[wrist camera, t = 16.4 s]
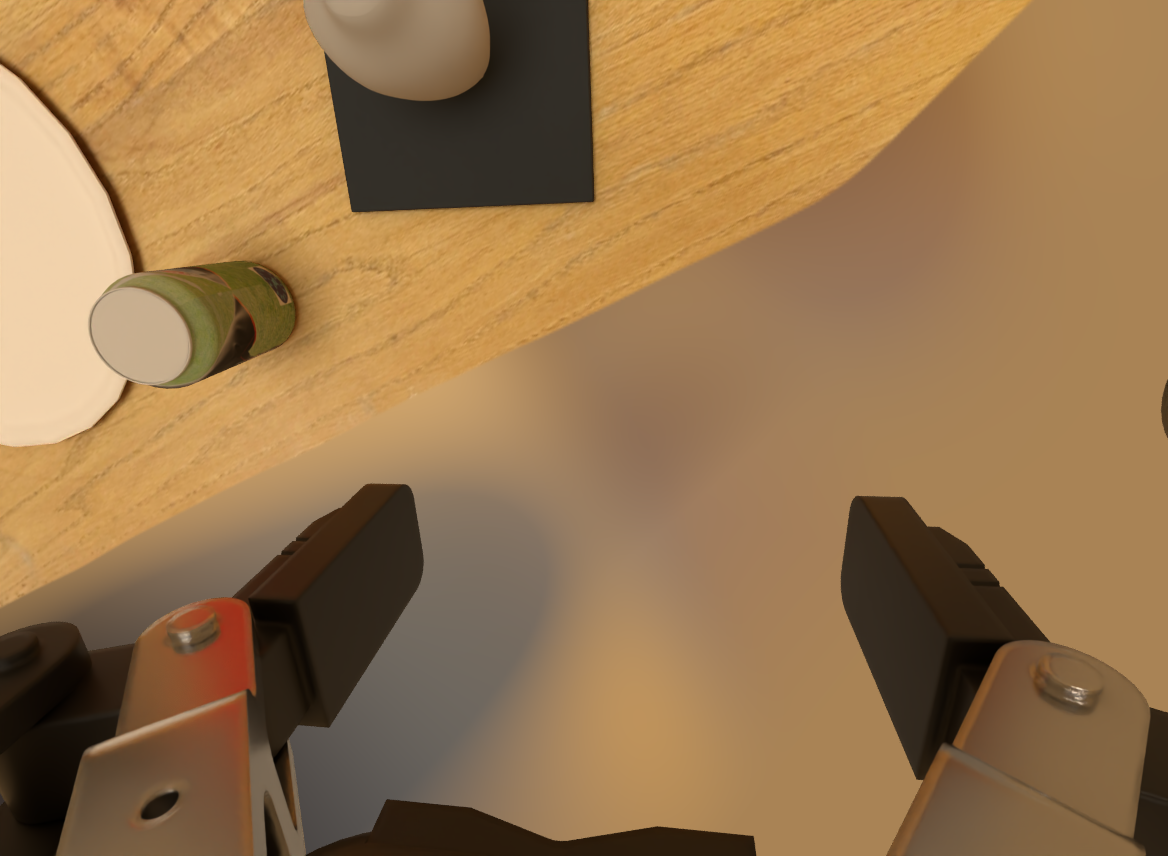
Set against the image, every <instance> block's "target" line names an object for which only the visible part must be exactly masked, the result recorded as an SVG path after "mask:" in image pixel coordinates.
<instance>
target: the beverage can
mask: <svg viewBox="0 0 1168 856" xmlns="http://www.w3.org/2000/svg"><path fill="white" fill-rule="evenodd" d="M294 323H295V307H294V302H293V299H292V296H291V294H290V292H289V290H288V289H287V287H286V286H285V284H284V283H283V282H282V280H281V279H280V278H279V277H278V276H276V275H275V274H274V273H273V272H271V271H270V270H269V269H267V268H265V267H263V266H261V265H259V264H255V263H252V262H246V261H233V262H224V263H216V264H208V265H199V266H191V267H182V268H174V269H165V270H157V271H149V272H140V273H135V274H130V275H127V276H125V277H122V278H120V279H118V280H116V281H115V282H114V283H112V284H111V285H110V286H109V287H108V288H107V289H106V290H105V291H104V292H103V294H102V295H101V296H100V297H99V298H98V299H97V301H96V302H95V303H94V305H93V306H92V308H91V310H90V314H89V317H88V332H89V337H90V340H91V343H92V345H93V348H94V350H95V352H96V353H97V355H98V356H99V358H100V359H101V360H102V361H103V362H104V363H105V365H106V366H107V367H109V368H110V369H111V370H112V371H113V372H115V373H116V374H118V375H119V376H121V377H122V378H125V379H127V380H129V381H131V382H135V383H138V384H144V385H150V386H153V387H158V388H166V389H169V388H181V387H186V386H189V385H192V384H194V383H196V382H199V381H201V380H203V379H206V378H208V377H210V376H213V375H215V374H217V373H220V372H222V371H224V370H227V369H229V368H231V367H234V366H236V365H238V364H241V363H243V362H245V361H247V360H250V359H252V358H254V357H257V356H259V355H261V354H264V353H266V352H268V351H271V350H273V349H275V348H277V347H279V346H280V345H282V344H283V343H284V342H285V341H286V340H287V339H288V337H289V336H290V334H291V332H292V330H293V327H294Z"/></svg>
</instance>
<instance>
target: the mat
mask: <svg viewBox="0 0 1168 856" xmlns="http://www.w3.org/2000/svg"><path fill="white" fill-rule="evenodd" d="M483 3H484V6H485V10H486V14H487V19H488V24H489V31H490V58H489V63H488V67H487V69H486V72H485V73H484V76H483V78H481V79H480V80H479V82H477V83H476V84H475V85H474V86H473V87H471V88H470V89H468V90H467V91H465V92H463V93H461V94H459V95H457V96H454V97H451V98H447V99H442V100H434V101H416V100H408V99H401V98H396V97H391V96H387V95H383V94H380V93H377V92H375V91H372V90H370V89H368V88H366V87H364V86H363V85H361V84H359V83H358V82H356V81H355V80H354V79H352V78H351V77H349V76H348V75H347V74H346V73H345V72H343V71H342V70H341V69H340V68H339V67H338V66H337V65H336V64H335V63H334V62H333V61H332V60H331V59H330V57H329V56H328V55H327V54H326V53H325V51H324V53H325V59H326V65H327V70H328V76H329V82H330V88H331V94H332V100H333V105H334V111H335V117H336V123H337V129H338V134H339V140H340V146H341V152H342V158H343V163H344V169H345V175H346V181H347V187H348V192H349V198H350V204H351V210H352V212H369V211H392V210H415V209H438V208H461V207H484V206H507V205H530V204H554V203H577V202H593V201H594V173H593V142H592V112H591V81H590V51H589V21H588V0H483Z"/></svg>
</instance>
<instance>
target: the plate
mask: <svg viewBox="0 0 1168 856" xmlns="http://www.w3.org/2000/svg"><path fill="white" fill-rule="evenodd" d="M130 274H135V273H134V266H133V260H132V254H131V252H130V249H129V247H128V244H127V241H126V239H125V236H124V234H123V231H122V228H121V226H120V223H119V221H118V218H117V216H116V213H115V210H114V208H113V205H112V203H111V200H110V197H109V195H108V193H107V191H106V190H105V188H104V186H103V185H102V183H101V182H100V180H99V178H98V177H97V175H96V174H95V172H94V170H93V169H92V167H91V165H90V164H89V162H88V161H87V159H86V157H85V156H84V154H83V153H82V151H81V149H80V148H79V146H78V145H77V143H76V141H75V140H74V138H73V137H72V135H71V133H70V132H69V131H68V130H67V129H66V128H65V127H64V126H63V125H62V123H61V122H60V121H59V120H58V119H57V118H56V117H55V116H54V115H53V114H52V112H51V111H50V110H49V109H48V108H47V107H46V106H45V105H44V104H43V103H42V101H41V100H40V99H39V98H38V97H37V96H36V95H35V94H34V93H33V92H32V90H31V89H30V88H29V87H28V86H27V85H26V84H25V83H24V82H23V81H22V79H20V78H19V77H18V76H16V75H15V74H14V73H12V72H11V71H10V70H8V69H7V68H6V67H4V66H3V65H2V64H0V444H2V445H8V446H13V447H20V446H31V445H43V444H54V443H58V442H60V441H62V440H64V439H67V438H69V437H71V436H73V435H76V434H78V433H80V432H82V431H84V430H87V429H89V428H91V427H93V426H94V425H95V424H96V423H97V422H98V421H99V420H100V419H101V418H102V417H103V415H104V414H105V413H106V412H107V411H108V410H109V409H110V408H111V407H112V406H113V405H114V404H115V403H116V402H117V401H118V400H119V399H120V396H121V394H122V392H123V389H124V387H125V385H126V382H127V379H125V378H122V377H121V376H119V375H118V374H116V373H115V372H113V371H112V370H111V369H110V368H109V367H107V366H106V365H105V363H104V362H103V361H102V360H101V359H100V358H99V356H98V355H97V353H96V352H95V350H94V348H93V345H92V343H91V340H90V337H89V332H88V317H89V314H90V310H91V308H92V306H93V305H94V303H95V302H96V301H97V299H98V298H99V297H100V296H101V295H102V294H103V292H104V291H105V290H106V289H107V288H108V287H109V286H110V285H111V284H112V283H114V282H115V281H116V280H118V279H120V278H122V277H125V276H127V275H130Z"/></svg>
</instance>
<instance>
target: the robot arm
mask: <svg viewBox="0 0 1168 856" xmlns="http://www.w3.org/2000/svg"><path fill="white" fill-rule="evenodd" d="M423 562H424V560H423V551H422V544H421V538H420V532H419V526H418V520H417V514H416V508H415V502H414V496H413V493H412V491H411V488H410V487H409V486H408V485H405V484H366V485H365V486H363V488H361V489H360V490H359V491H358V492H357V493H356V494H355V495H354V496H353V497H352V498H351V499H350V500H349V501H348V502H347V503H346V504H345V505H344V506H343V507H342V508H338V509H336V510H334V511H332V512H331V513H329V514H327V515H325V516H323V517H322V518H319V519H318V520H316V521H314V522H313V523H312V524H311V525H310V526H308V527H307V528H306V529H305V530H304V531H303V532H302V533H301V534H300V535H299V536H298V537H297V538H296V541H292V542H291V543H290V544H289V545H288V546H287V547H286V548H285V549H284V550H283V551H282V554H281V555H277V556H276V557H275V558H274V559H273V560H272V561H271V562H270V563H269V564H267V565H266V566H265V567H264V568H263V569H262V570H261V571H260V572H259V573H258V574H257V575H256V576H254V577H253V578H252V579H251V580H250V581H249V582H248V583H247V584H246V585H245V586H244V587H243V588H241V590H239V591H238V592H237V593H236V594H235V595H234V596H233V597H232V598H227V597H221V598H212V599H206V600H202V601H198V602H195V603H192V604H189V605H186V606H183V607H181V608H179V609H176V610H174V611H173V612H171V613H168V614H167V615H165V616H163V617H162V618H160V619H158V620H157V621H156V622H154V623H153V624H151V625H150V626H149V627H148V628H147V629H146V630H145V631H144V632H143V633H142V634H141V635H140V636H139V638H138V639H137V641H136V642H135V643H134V644H128V645H122V646H116V647H110V648H104V649H98V650H92V651H87V648H86V646H85V644H84V641H83V639H82V637H81V635H80V633H79V630H78V628H77V627H76V626H75V625H73V624H71V623H66V622H48V623H41V624H37V625H32V626H28V627H25V628H22V629H18V630H16V631H13V632H10V633H7V634H5V635H3V636H0V793H1V795H2V797H3V799H4V800H5V802H4V803H3V804H2V805H1V806H0V856H756V851H755V843H754V837H753V836H746V835H737V834H727V833H718V832H708V831H697V830H688V829H678V828H668V827H658V826H657V827H651V828H645V829H639V830H632V831H626V832H620V833H614V834H607V835H601V836H595V837H589V838H583V839H576V840H570V841H555V840H551V839H548V838H545V837H543V836H540V835H538V834H536V833H533V832H531V831H528V830H526V829H523V828H521V827H518V826H516V825H513V824H510V823H508V822H506V821H503V820H501V819H498V818H495V817H493V816H490V815H488V814H485V813H483V812H480V811H478V810H475V809H473V808H468V807H459V806H449V805H438V804H429V803H418V802H409V801H399V800H389V799H387V800H386V802H385V804H384V806H383V808H382V810H381V813H380V815H379V817H378V819H377V821H376V823H375V825H374V828H373V830H372V832H368V833H362V834H359V835H355V836H352V837H348V838H345V839H342V840H339V841H336V842H334V843H332V844H329V845H326V846H324V847H321V848H319V849H317V850H315V851H313V852H311V853H309V854H307V855H306V852H305V844H304V837H303V830H302V823H301V822H302V821H301V813H300V806H299V798H298V790H297V782H296V775H295V766H294V759H293V752H292V748H291V745H290V742H289V737H290V736H291V734H292V733H293V731H294V730H295V728H296V727H297V726H298V725H305V726H316V727H328V728H329V727H330V725H331V724H332V722H333V721H334V719H335V718H336V716H337V714H338V713H339V711H340V710H341V708H342V707H343V705H344V703H345V702H346V700H347V699H348V697H349V696H350V694H351V692H352V691H353V689H354V687H355V686H356V685H357V683H358V681H359V680H360V678H361V677H362V675H363V673H364V672H365V670H366V669H367V667H368V666H369V664H370V662H371V661H372V659H373V658H374V656H375V654H376V653H377V651H378V650H379V648H380V647H381V645H382V644H383V642H384V640H385V639H386V637H387V635H388V634H389V632H390V631H391V629H392V628H393V626H394V625H395V623H396V621H397V620H398V618H399V617H400V615H401V614H402V612H403V610H404V609H405V607H406V606H407V604H408V603H409V601H410V599H411V598H412V596H413V595H414V593H415V592H416V590H417V588H418V586H419V584H420V581H421V577H422V573H423ZM841 593H842V600H843V605H844V608H845V611H846V614H847V616H848V618H849V620H850V623H851V625H852V628H853V630H854V632H855V635H856V637H857V640H858V642H859V644H860V647H861V649H862V651H863V654H864V656H865V658H866V661H867V663H868V666H869V668H870V670H871V673H872V675H873V677H874V679H875V682H876V684H877V687H878V689H879V691H880V694H881V696H882V699H883V701H884V703H885V706H886V708H887V710H888V713H889V715H890V717H891V720H892V722H893V725H894V727H895V729H896V732H897V734H898V736H899V739H900V741H901V743H902V746H903V748H904V751H905V753H906V755H907V758H908V760H909V763H910V765H911V767H912V770H913V772H914V774H915V777H916V779H918V780H923V782H922V784H921V786H920V788H919V790H918V792H917V794H916V796H915V799H914V801H913V803H912V804H911V807H910V809H909V811H908V813H907V815H906V817H905V819H904V821H903V823H902V825H901V827H900V829H899V831H898V833H897V835H896V837H895V839H894V841H893V843H892V845H891V847H890V849H889V851H888V853H887V855H886V856H1168V713H1167V712H1163V711H1160V710H1157V709H1154V708H1150V707H1149V706H1148V703H1147V701H1146V699H1145V698H1144V696H1143V694H1142V693H1141V692H1140V691H1139V690H1138V689H1137V687H1136V686H1135V685H1134V684H1133V683H1132V682H1130V681H1129V680H1128V679H1127V678H1126V677H1125V676H1123V675H1122V674H1121V673H1119V672H1118V671H1117V670H1115V669H1113V668H1112V667H1110V666H1109V665H1107V664H1105V663H1104V662H1102V661H1100V660H1098V659H1096V658H1094V657H1092V656H1090V655H1087V654H1085V653H1083V652H1080V651H1078V650H1075V649H1072V648H1069V647H1066V646H1062V645H1059V644H1055V643H1051V642H1050V641H1049V640H1048V639H1047V638H1046V637H1045V635H1044V634H1043V633H1042V632H1041V631H1040V630H1039V628H1038V627H1037V626H1036V625H1035V624H1034V623H1033V621H1032V620H1031V619H1030V618H1029V617H1028V615H1027V614H1026V613H1025V612H1024V611H1023V610H1022V608H1021V607H1020V606H1019V605H1018V604H1017V602H1016V601H1015V600H1014V599H1013V598H1012V597H1011V595H1010V594H1009V593H1008V592H1007V591H1006V590H1005V588H1004V587H1000V585H999V581H998V580H997V579H996V578H995V576H994V575H993V574H992V573H991V572H990V571H989V570H988V569H985V565H984V564H983V562H982V561H981V560H980V559H979V558H978V556H976V554H975V553H974V552H973V551H972V549H971V548H970V547H969V546H968V545H967V544H966V543H964V542H962V541H961V540H959V539H958V538H956V537H954V536H953V535H951V534H950V533H948V532H946V531H945V530H943V529H941V528H940V527H927V526H926V524H925V523H924V522H923V521H922V520H921V518H920V517H919V515H918V514H917V513H916V512H915V510H914V509H913V508H912V506H911V505H910V504H909V502H908V501H907V500H906V499H905V498H903V497H875V496H856V497H855V498H854V499H853V501H852V503H851V507H850V512H849V519H848V527H847V534H846V542H845V549H844V556H843V564H842V571H841Z"/></svg>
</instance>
